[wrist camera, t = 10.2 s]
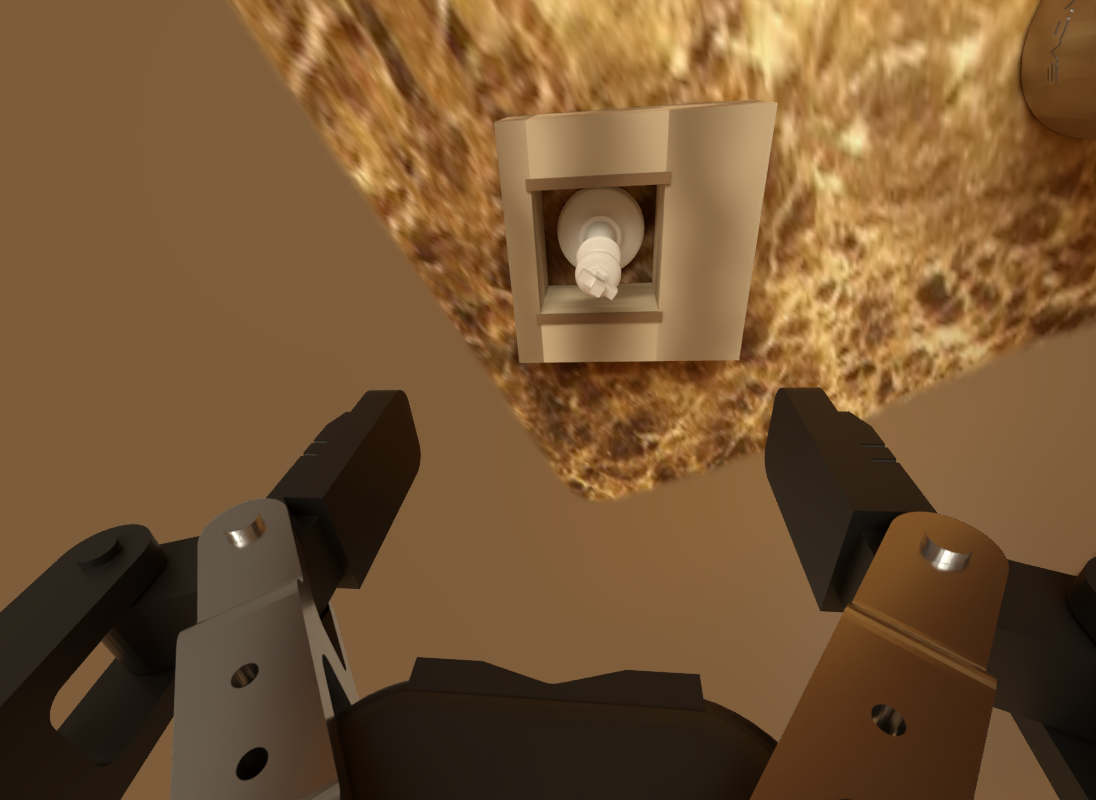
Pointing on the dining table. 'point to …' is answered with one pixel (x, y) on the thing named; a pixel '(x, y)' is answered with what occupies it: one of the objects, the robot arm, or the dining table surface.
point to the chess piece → (600, 237)
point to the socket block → (679, 235)
